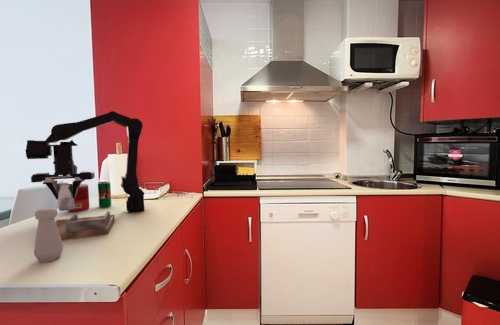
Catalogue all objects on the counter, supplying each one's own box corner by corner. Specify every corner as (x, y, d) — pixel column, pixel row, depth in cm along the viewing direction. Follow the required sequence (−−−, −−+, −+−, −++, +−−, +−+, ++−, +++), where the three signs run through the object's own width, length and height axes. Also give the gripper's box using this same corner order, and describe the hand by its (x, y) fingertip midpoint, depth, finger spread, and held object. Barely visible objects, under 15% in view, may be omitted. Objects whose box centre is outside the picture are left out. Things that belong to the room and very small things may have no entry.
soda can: (113, 205, 119) (112, 180, 118) (106, 207, 114) (105, 181, 113) (103, 204, 119) (102, 180, 118) (96, 207, 114) (95, 181, 113)
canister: (76, 206, 99) (74, 182, 98) (72, 210, 94) (71, 183, 93) (61, 208, 97) (59, 182, 96) (56, 211, 92) (54, 184, 92)
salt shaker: (46, 254, 66) (42, 206, 65) (69, 253, 66) (65, 205, 65) (28, 265, 60) (24, 212, 59) (53, 263, 60) (50, 211, 59)
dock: (114, 220, 95) (114, 207, 94) (108, 234, 80) (107, 219, 80) (57, 226, 88) (56, 212, 88) (38, 242, 73) (37, 226, 73)
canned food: (93, 208, 113) (92, 184, 113) (76, 212, 106) (74, 187, 105) (81, 206, 116) (79, 183, 115) (63, 211, 108) (62, 186, 107)
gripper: (96, 156, 105) (98, 192, 106) (41, 157, 98) (44, 196, 99) (90, 157, 95) (92, 198, 96) (28, 159, 88) (32, 202, 89)
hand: (66, 198), depth 95 cm, fingers closed on canister, 5 cm apart
